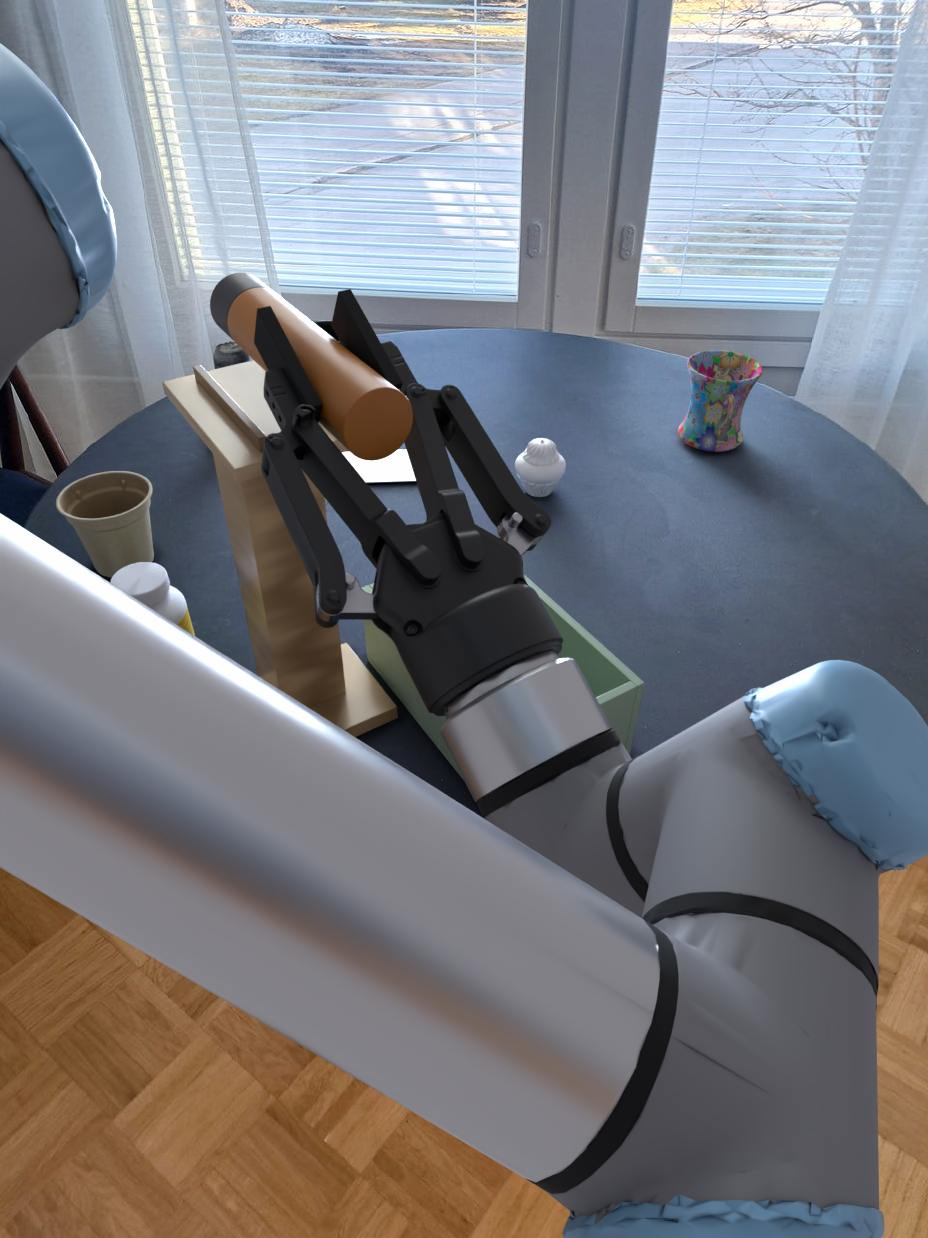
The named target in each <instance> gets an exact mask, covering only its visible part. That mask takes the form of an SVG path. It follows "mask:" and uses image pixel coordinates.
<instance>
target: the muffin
mask: <svg viewBox="0 0 928 1238" xmlns="http://www.w3.org/2000/svg"><path fill="white" fill-rule="evenodd" d="M566 468H567V465H566V460H565V458H564V457H563V456H562V455H561V453H560V452H559V451H558V449H557V445H556V443H555V442H553V441H552V440H551V439H549V438H546V437H540V438H539V437H537V438H533V439H532V440H531V441H528V444H527V445H526V448H525V450H524V451H523V452H521V453H520V454H519V455H518V456H517V458H516V459H515V462H514V469H515V472H516V476H517V478H518V479H519V481H520V484H521V485H522V488H523V489H524V491H525V492H526V494H528V495H529V496H532V497H535V498H543V497H547V496H549V495H551V494H552V492H553V491H554V490H555V488H556V487H557V486H558V485H559V483H560V482H561V481H562V478H563V475H564V474H565V472H566Z"/></svg>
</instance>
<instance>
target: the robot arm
mask: <svg viewBox="0 0 928 1238" xmlns="http://www.w3.org/2000/svg"><path fill="white" fill-rule="evenodd" d="M101 179H102V174H101V171H100V169H99V165H98V164H97V161H96V160H95V157H94V155H93V153H92V152H91V149H90V147H89V146H88V144H87V142H86V141H85V139H84V137H83V135H82V134H81V131H80V130H79V129H78V127H77V125H76V123H75V122H74V121H73V119H72V118H71V117H70V115H69V114H68V112H67V111H66V110H65V108H64V107H63V105H62V104H61V102H60V101H59V99H58V98H57V97H56V95H54V94H53V92H52V91H51V89H50V88H48V86H47V85H46V84H45V83H44V82H43V80H42V79H41V78H40V77H39V76H38V75H37V74H36V73H35V72H34V71H33V70H32V69H31V68H30V67H29V66H28V65H27V63H25V62H24V61H23V60H22V59H20V57H18V56H17V55H16V54H15V53H13V52H12V51H11V50H10V49H9V48H7V47H6V46H5V45H4V44H2V43H1V42H0V390H1V389H2V387H3V386H4V384H5V382H6V381H7V379H8V378H9V376H10V374H11V373H12V371H13V370H14V368H15V366H16V365H17V363H18V362H19V361H20V359H21V358H22V357H23V356H24V355H25V354H26V353H27V352H29V350H30V349H31V348H32V347H33V346H35V345H36V344H37V343H38V342H39V341H41V340H42V339H43V338H44V337H46V336H47V335H49V334H50V333H53V332H55V331H56V330H65V329H69V328H72V327H74V326H76V325H77V324H79V323H80V322H82V321H83V320H84V318H85V317H86V315H87V313H88V312H89V311H90V310H92V309H93V308H94V307H95V306H96V305H98V303H100V302H101V301H102V299H103V298H104V297H105V295H106V294H107V292H108V291H109V290H110V287H111V284H112V282H113V279H114V276H115V271H116V267H117V258H118V237H117V229H116V222H115V215H114V211H113V208H112V206H111V204H110V202H109V200H108V199H107V197H106V196H105V193H104V191H103V189H102V185H101ZM331 321H332V324H331V326H332V327H333V329H334V331H335V333H336V335H337V337H338V338H339V340H340V342H341V344H342V345H343V346H344V347H345V348H346V349H348V350H349V351H350V352H351V353H353V354H354V355H355V356H356V357H358V358H359V359H360V360H362V361H363V362H364V363H365V364H367V365H368V366H369V367H370V368H372V369H373V370H374V371H375V372H377V373H378V374H379V375H381V376H382V377H383V378H384V379H386V380H387V381H388V382H389V383H391V384H392V385H393V386H394V387H396V388H397V389H398V390H400V391H401V392H402V393H403V394H404V395H405V396H406V397H407V398H408V400H409V402H410V404H411V407H412V411H413V422H412V427H411V430H410V433H409V435H408V437H407V439H406V440H405V442H404V443H403V444H404V447H405V450H407V453H408V456H409V459H410V463H411V466H412V469H413V472H414V476H415V479H416V482H417V483H416V485H417V488H418V492H419V494H420V498H421V502H422V505H423V508H424V511H425V515H426V516H425V517H426V521H424V522H423V523H410V524H409V523H408V524H407V523H406V522H405V521H404V520H403V519H402V517H401V516H400V515H399V514H398V513H397V512H396V511H395V510H394V509H392V508H391V509H390V508H388V507H387V506H386V505H385V504H384V502H382V500H381V499H380V498H379V497H378V495H377V494H376V493H375V491H373V489H372V488H371V487H370V485H369V484H367V483H366V482H365V481H364V479H363V478H362V477H361V476H360V474H359V473H358V472H357V471H356V470H355V468H354V467H353V466H352V465H351V463H350V462H349V461H348V460H347V458H346V457H345V456H344V455H343V453H342V452H341V451H340V450H339V449H338V447H337V446H336V445H335V444H334V442H333V441H332V440H331V439H330V437H329V436H328V435H327V434H326V433H325V431H324V430H323V429H322V428H321V426H320V425H319V424H318V423H319V419H320V413H321V410H322V405H323V404H322V402H321V400H320V398H319V396H318V395H317V393H316V391H315V389H314V387H313V385H312V383H311V381H310V379H309V378H308V376H307V374H306V372H305V370H304V368H303V366H302V364H301V363H300V361H299V359H298V357H297V355H296V353H295V351H294V349H293V347H292V346H291V344H290V342H289V340H288V338H287V336H286V334H285V332H284V330H283V329H282V327H281V325H280V323H279V321H278V319H277V317H276V315H275V313H274V312H273V310H272V308H271V306H267V307H262V308H257V315H256V325H255V336H254V344H255V346H256V348H257V350H258V352H259V354H260V355H261V357H262V359H263V361H264V363H265V365H266V367H267V369H268V371H267V372H265V379H264V388H263V390H264V398H265V400H266V402H267V404H268V405H269V408H270V410H271V411H272V414H273V416H274V418H275V420H276V422H277V424H278V426H279V427H280V429H281V431H280V432H279V433H271V434H269V435H268V436H267V437H266V438H265V441H264V448H263V456H262V463H261V471H262V473H263V476H264V478H265V480H266V482H267V485H268V487H269V489H270V491H271V493H272V496H273V498H274V500H275V502H276V504H277V507H278V509H279V511H280V513H281V516H282V518H283V520H284V522H285V524H286V527H287V529H288V531H289V533H290V535H291V538H292V540H293V542H294V544H295V547H296V549H297V551H298V553H299V555H300V558H301V560H302V562H303V564H304V566H305V569H306V571H307V573H308V575H309V578H310V580H311V582H312V584H313V590H314V610H315V619H316V622H317V623H318V624H319V625H320V626H322V627H324V628H331V627H334V626H335V625H336V624H337V623H338V624H339V621H340V620H344V621H346V620H347V621H348V620H349V621H350V620H351V621H353V620H355V621H356V620H358V621H359V620H363V621H364V620H372V622H373V623H374V625H375V626H376V627H377V628H378V629H380V630H381V631H383V632H384V633H385V634H387V635H388V636H389V637H390V638H391V639H392V641H393V642H394V643H395V645H396V647H397V650H398V652H399V654H400V657H401V659H402V661H403V663H404V665H405V667H406V669H407V671H408V673H409V675H410V677H411V679H412V681H413V682H414V684H415V686H416V688H417V690H418V692H419V694H420V696H421V698H422V700H423V702H424V704H425V706H426V708H427V710H428V712H429V713H434V714H435V715H436V716H446V718H447V720H446V721H445V722H444V723H443V725H442V728H441V730H440V734H441V736H442V738H443V740H444V742H445V744H446V746H447V748H448V750H449V752H450V754H451V756H452V757H453V759H454V761H455V763H456V765H457V767H458V769H459V771H460V773H461V775H462V777H463V779H464V780H463V779H462V780H463V781H464V783H465V785H466V787H467V789H468V791H469V793H470V795H471V797H472V799H473V801H474V802H475V803H476V805H477V807H478V809H479V811H480V814H481V815H479V814H477V813H476V812H475V811H473V810H471V809H469V808H468V807H466V806H465V805H463V804H461V803H460V802H458V801H456V800H455V799H454V798H452V797H450V796H449V795H447V794H445V793H444V792H443V791H441V790H439V789H438V788H437V787H435V786H433V785H431V784H430V783H429V782H426V781H425V780H423V779H422V778H420V777H419V776H417V775H416V774H414V773H412V772H411V771H409V770H408V769H406V768H404V767H403V766H401V765H400V764H398V763H397V762H395V761H394V760H393V759H391V758H389V757H387V756H386V755H383V753H381V752H379V751H378V750H376V749H374V748H373V747H371V746H369V745H368V744H367V743H365V742H363V741H362V740H360V739H358V738H357V737H354V736H352V735H351V734H349V733H347V732H346V731H344V730H343V729H341V728H340V727H338V726H336V725H335V724H333V723H332V722H330V721H328V720H327V719H325V718H324V717H322V716H321V715H319V714H317V713H316V712H314V711H313V710H311V709H309V708H308V707H306V706H305V705H303V704H302V703H300V702H298V701H297V700H295V699H294V698H292V697H290V696H289V695H287V694H286V693H284V692H282V691H281V690H279V689H278V688H276V687H275V686H273V685H271V684H270V683H268V682H267V681H265V680H263V679H262V678H260V677H259V676H258V674H256V673H254V672H253V671H251V670H249V669H248V668H247V667H245V666H243V665H241V664H240V663H239V662H236V661H235V660H233V659H232V658H230V657H229V656H228V655H226V654H225V653H222V652H221V651H219V650H217V649H216V648H215V647H213V646H211V645H209V644H208V643H207V642H205V641H203V640H202V639H200V638H199V637H198V636H196V635H195V636H194V635H192V634H191V633H189V632H187V631H186V630H184V629H183V628H181V627H180V626H178V625H176V624H175V623H173V622H172V621H170V620H168V619H167V618H165V617H164V616H162V615H161V614H159V613H157V612H156V611H154V610H153V609H151V608H149V607H148V606H146V605H145V604H143V603H142V602H140V601H138V600H137V599H135V598H134V597H132V596H130V595H129V594H127V593H126V592H124V591H122V590H121V589H119V588H118V587H116V586H115V585H113V584H111V583H110V582H111V581H108V580H107V579H105V578H103V577H102V576H100V575H99V574H97V573H96V572H94V571H92V570H91V569H89V568H87V567H86V566H84V565H83V564H82V563H80V562H78V561H77V560H75V559H73V558H72V557H70V556H69V555H67V554H66V553H64V552H63V551H61V550H59V549H58V548H56V547H54V546H53V545H51V544H50V543H48V542H46V541H45V540H43V539H42V538H40V537H39V536H37V535H35V534H34V533H32V532H30V531H29V530H28V529H26V528H24V527H22V525H20V524H19V523H17V522H15V521H13V520H11V519H10V518H9V517H7V516H6V515H4V514H2V513H1V512H0V869H2V870H3V871H5V872H6V873H9V874H10V875H12V876H14V877H15V878H17V879H18V880H20V881H22V882H23V883H25V884H27V885H29V886H30V887H32V888H34V889H36V890H37V891H39V892H40V893H42V894H44V895H46V896H47V897H48V898H50V899H52V900H54V901H56V902H58V903H59V904H61V905H63V906H64V907H66V908H68V909H69V910H71V911H73V912H74V913H76V914H78V915H79V916H81V917H83V918H84V919H86V920H88V921H89V922H91V923H92V924H95V925H96V926H98V927H100V928H101V929H103V930H104V931H106V932H108V933H109V934H111V935H113V936H114V937H116V938H118V939H120V940H122V941H123V942H125V943H126V944H128V945H130V946H132V947H133V948H135V949H137V950H138V951H140V952H141V953H143V954H145V955H147V956H149V957H150V958H152V959H154V960H155V961H157V962H159V963H160V964H162V965H164V966H165V967H167V968H169V969H170V970H172V971H174V972H176V973H177V974H179V975H181V976H182V977H184V978H186V979H188V980H189V981H190V982H192V983H194V984H196V985H198V986H199V987H201V988H203V989H204V990H206V991H207V992H209V993H211V994H213V995H214V996H216V997H218V998H219V999H221V1000H222V1001H224V1002H226V1003H228V1004H230V1005H231V1006H233V1007H234V1008H237V1009H238V1010H240V1011H241V1012H243V1013H245V1014H247V1015H249V1016H250V1017H252V1018H253V1019H254V1020H256V1021H258V1022H260V1023H262V1024H263V1025H265V1026H267V1027H268V1028H270V1029H272V1030H273V1031H275V1032H277V1033H279V1034H280V1035H282V1036H284V1037H285V1038H287V1039H289V1040H290V1041H292V1042H294V1043H296V1044H297V1045H299V1046H301V1047H302V1048H303V1049H305V1050H307V1051H309V1052H311V1053H312V1054H314V1055H316V1056H318V1057H319V1058H320V1059H322V1060H324V1061H326V1062H328V1063H329V1064H331V1065H332V1066H334V1067H336V1068H337V1069H340V1070H341V1071H342V1072H345V1074H348V1075H349V1076H351V1077H352V1078H355V1079H356V1080H358V1081H360V1082H361V1083H363V1084H364V1085H366V1086H368V1087H369V1088H372V1089H373V1090H375V1091H377V1092H378V1093H380V1094H382V1095H383V1096H384V1097H387V1099H388V1098H389V1099H390V1100H392V1101H393V1102H394V1103H397V1104H399V1105H400V1106H402V1107H404V1108H405V1109H407V1110H408V1111H410V1112H412V1113H414V1114H415V1115H417V1116H419V1117H420V1118H422V1119H424V1120H425V1121H427V1122H429V1123H430V1124H432V1125H433V1126H435V1127H437V1128H439V1129H441V1130H442V1131H444V1132H445V1133H448V1134H449V1135H451V1136H452V1137H454V1138H456V1139H458V1140H459V1141H461V1142H463V1143H464V1144H465V1145H468V1146H469V1147H471V1148H473V1149H474V1150H476V1151H478V1152H479V1153H481V1154H482V1155H484V1156H486V1157H487V1158H490V1159H491V1160H493V1161H495V1162H496V1163H498V1164H499V1165H501V1166H503V1167H504V1168H507V1169H508V1170H509V1171H512V1172H513V1173H515V1174H517V1175H518V1176H520V1177H521V1178H523V1179H525V1180H526V1181H528V1182H530V1183H531V1184H533V1185H535V1186H536V1187H538V1188H539V1189H541V1190H543V1191H544V1192H545V1193H546V1194H548V1195H549V1196H550V1197H552V1198H553V1199H554V1200H555V1201H557V1202H558V1203H559V1204H560V1205H562V1207H564V1208H565V1209H567V1210H568V1212H569V1215H568V1216H567V1219H566V1221H565V1224H564V1227H563V1229H562V1232H561V1234H562V1237H563V1238H883V1237H884V1234H885V1219H884V1213H883V1211H881V1210H880V1170H879V1168H880V1167H879V1166H880V1165H879V1116H878V1115H879V1114H878V1113H879V1102H878V1100H879V1097H878V1039H877V1038H878V1037H877V1036H878V1035H877V1031H878V1030H877V1012H878V1011H877V1010H878V1005H877V1001H878V993H879V985H880V984H879V983H880V982H879V981H880V980H879V979H880V978H879V977H880V976H879V975H880V968H879V967H880V955H879V954H880V950H879V949H880V927H879V926H880V902H879V901H880V894H879V893H880V891H879V878H880V876H881V875H882V874H885V873H887V872H889V871H894V872H896V871H899V872H900V871H901V870H903V871H905V870H906V869H908V867H909V866H910V865H912V864H914V863H916V862H918V861H920V860H922V859H924V858H926V857H928V724H927V723H926V721H925V720H924V719H923V717H922V716H921V714H920V713H919V711H918V710H917V709H916V708H915V706H914V705H913V704H912V703H911V701H910V700H909V699H908V698H907V697H906V696H904V695H903V694H902V693H901V692H900V691H899V690H898V689H897V688H896V687H895V686H893V685H892V684H891V683H890V682H889V681H888V680H887V679H886V678H885V677H884V676H882V675H881V674H880V673H878V672H876V671H875V670H872V669H871V668H869V667H866V666H864V665H862V664H860V663H857V662H854V661H850V660H844V659H843V660H842V659H829V660H824V661H820V662H817V663H815V664H813V665H811V666H808V667H806V668H804V669H802V670H800V671H798V672H795V673H793V674H791V675H789V676H786V677H785V678H782V679H780V680H777V681H776V682H773V683H771V684H769V685H766V686H765V687H752V688H751V689H750V690H748V691H746V692H744V695H743V696H742V697H740V698H738V699H736V700H734V701H733V702H731V703H729V704H728V705H726V706H724V707H723V708H721V709H719V710H717V711H716V712H714V713H712V714H710V715H709V716H707V717H705V718H703V719H701V720H700V721H698V722H697V723H694V724H693V725H691V726H689V727H688V728H686V729H685V730H683V731H680V732H679V733H678V734H676V735H674V736H672V737H670V738H669V739H667V740H665V741H663V742H662V743H660V744H658V745H657V746H654V747H653V748H652V749H650V750H647V751H646V752H642V753H640V754H638V755H635V757H633V758H632V757H631V754H630V755H629V754H628V752H627V750H626V749H625V747H624V746H623V744H622V743H620V739H619V737H618V735H617V734H616V732H615V730H612V731H610V730H611V729H612V726H611V724H610V722H609V720H608V719H607V717H606V715H605V713H604V711H603V710H602V708H601V706H600V704H599V702H598V701H597V699H596V697H595V695H594V693H593V691H592V690H591V688H590V686H589V684H588V682H587V681H586V679H585V677H584V675H583V673H582V672H581V670H580V668H579V666H578V664H577V662H576V661H575V660H574V659H571V658H559V657H558V654H559V653H560V651H561V649H562V645H561V644H562V643H563V638H562V637H561V635H560V633H559V631H558V630H557V628H556V626H555V624H554V622H553V621H552V619H551V617H550V615H549V614H548V612H547V610H546V608H545V607H544V605H543V603H542V601H541V599H540V598H539V596H538V594H537V592H536V591H535V590H534V589H533V588H532V587H531V586H529V585H528V584H527V582H526V581H525V578H524V575H525V574H524V573H525V572H524V560H523V556H524V554H525V553H526V552H532V550H534V549H535V548H536V546H538V544H539V542H540V541H541V540H542V539H543V538H544V536H545V535H546V533H547V532H548V531H549V530H550V528H551V526H552V518H551V517H550V515H549V514H548V513H547V512H546V511H545V510H543V508H542V507H541V506H539V505H538V504H537V503H536V502H535V501H534V500H533V499H531V498H530V497H529V496H528V495H527V494H525V493H524V491H523V489H522V488H521V486H520V485H519V483H518V482H517V480H516V478H515V477H514V475H513V473H512V472H511V470H510V469H509V466H508V465H507V464H506V463H505V460H504V459H503V457H502V456H501V454H500V452H499V451H498V449H497V447H496V446H495V444H494V443H493V441H492V439H491V438H490V437H489V434H488V433H487V432H486V430H485V428H484V427H483V426H482V425H483V424H482V423H481V422H480V420H479V418H478V417H477V415H476V414H475V412H474V410H473V409H472V407H471V406H470V405H469V403H468V401H467V399H466V398H465V396H464V395H463V393H462V391H461V390H460V389H459V388H458V387H457V386H455V385H453V384H445V385H443V386H442V387H441V388H440V389H431V388H426V386H424V385H423V384H421V383H419V382H418V381H417V379H416V377H415V376H414V373H413V372H412V370H411V368H410V367H409V365H408V363H407V362H406V359H405V358H404V356H403V354H402V353H401V351H400V349H399V347H398V346H397V345H396V344H395V343H394V342H392V341H391V340H389V341H388V340H387V341H385V342H384V341H383V342H381V341H380V339H379V337H378V335H377V333H376V332H375V330H374V329H373V327H372V325H371V323H370V321H369V319H368V317H367V315H365V312H364V310H363V309H362V307H361V305H360V302H358V299H357V298H356V296H355V294H354V293H353V291H352V289H351V288H348V289H343V290H339V291H337V295H336V300H335V305H334V310H333V314H332V319H331ZM448 453H449V454H448ZM449 455H450V456H451V458H452V460H453V462H454V463H455V464H456V466H457V468H458V469H459V471H460V473H461V474H462V476H463V478H464V479H465V481H466V483H467V485H468V486H469V488H470V489H471V492H473V494H474V496H475V498H476V499H477V502H479V504H480V506H481V507H482V509H483V511H484V513H485V514H486V515H487V517H488V519H489V520H490V522H491V523H492V524H493V526H495V528H496V530H497V531H496V532H497V535H498V536H496V535H495V534H493V533H492V532H489V531H488V530H486V529H485V528H483V527H482V526H479V525H477V524H476V522H475V520H474V517H473V513H472V511H471V508H470V505H469V502H468V499H467V496H466V493H465V491H464V490H462V489H461V488H460V487H459V485H458V481H457V478H456V475H455V471H454V469H453V466H452V463H451V460H450V456H449ZM302 470H303V471H304V473H305V474H306V475H307V476H308V478H309V479H310V480H311V481H312V483H313V484H314V485H315V486H316V488H317V489H318V490H319V491H320V493H321V494H322V495H323V496H324V499H325V501H327V503H328V504H329V506H331V508H332V509H333V510H334V511H335V512H336V514H337V515H338V517H339V518H340V519H341V521H342V522H343V523H344V524H345V525H346V526H347V528H348V529H349V530H350V532H352V534H353V535H354V536H355V538H356V539H357V540H358V542H359V544H360V546H361V550H362V552H363V554H364V556H365V557H366V558H367V560H369V562H370V563H371V564H372V565H373V567H374V568H375V569H376V570H375V574H374V580H373V583H374V585H373V591H372V594H369V593H367V592H365V591H364V590H363V589H362V587H361V584H360V581H359V579H358V578H357V577H356V576H355V574H353V573H352V572H346V569H345V564H344V560H343V559H344V558H343V556H342V554H341V551H340V549H339V546H338V544H337V542H336V540H335V538H334V536H333V533H332V532H331V529H330V527H329V525H328V522H327V523H326V521H325V519H324V516H323V514H322V512H321V510H320V508H319V506H318V503H317V501H316V499H315V497H314V495H313V493H312V491H311V488H310V486H309V484H308V482H307V480H306V478H305V476H304V473H303V471H302ZM462 777H461V778H462ZM480 800H481V801H480ZM482 816H483V817H482Z"/></svg>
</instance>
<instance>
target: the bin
mask: <svg viewBox="0 0 928 1238" xmlns="http://www.w3.org/2000/svg"><path fill="white" fill-rule="evenodd" d="M524 578H525V581H526V582H527V584H528V585H529V586H531V587H532V588H533V589H534V590H535V591H536V592H537V594H538V596H539V598H540V599H541V601H542V603H543V605H544V607H545V608H546V610H547V612H548V614H549V615H550V617H551V619H552V621H553V622H554V624H555V626H556V628H557V630H558V631H559V633H560V635H561V637H562V638H563V643H562V644H561V645H562V649H561V651H560V653H559V654H558V657H559V658H571V659H574V660H575V661H576V662H577V664H578V666H579V668H580V670H581V672H582V673H583V675H584V677H585V679H586V681H587V682H588V684H589V686H590V688H591V690H592V691H593V693H594V695H595V697H596V699H597V701H598V702H599V704H600V706H601V708H602V710H603V711H604V713H605V715H606V717H607V719H608V720H609V722H610V724H611V726H612V729H611V730H610V731H612V730H615V732H616V734H617V735H618V737H619V739H620V743H622V744H623V746H624V747H625V749H626V750H627V752H628V754H629V755H630V756H631V752H632V746H633V741H634V736H635V731H636V727H637V722H638V717H639V711H640V707H641V702H642V698H643V692H644V688H645V682H644V681H643V679H641V678H640V677H639V676H638V675H637V674H636V673H635V672H633V671H632V670H631V669H630V667H628V666H627V665H626V664H624V662H623V661H621V660H620V659H619V658H618V657H616V655H614V654H613V653H612V652H611V651H610V650H609V649H608V648H607V647H606V646H604V644H603V643H601V642H600V641H599V640H598V639H597V638H596V637H594V635H592V634H591V633H590V632H589V631H588V630H587V629H586V628H585V627H583V626H582V625H581V624H580V623H579V622H578V621H576V620H575V619H574V618H573V617H572V616H571V615H570V614H569V613H567V611H566V610H564V609H563V608H562V607H561V606H560V605H559V604H558V603H557V602H556V601H554V600H553V599H552V597H550V596H549V595H548V594H547V593H545V592H544V590H542V589H541V588H540V587H539V586H538V585H537V584H535V583H534V582H533V581H532V580H531V579H530V578H529V577H527V575H526V574H524ZM373 585H374V582H373V583H370V584H368V585H364V586H362V587H361V588H362V589H363V590H364V591H365V592H367V593H369V594H372V591H373ZM363 625H364V637H365V649H366V660H367V661H368V662H369V664H371V666H372V667H373V668H374V669H375V671H376V672H377V674H378V675H379V676H380V677H381V679H382V680H383V681H384V682H385V684H386V685H387V686H388V687H389V688H390V690H391V691H392V693H393V694H394V695H395V696H396V697H397V699H398V700H399V701H400V702H401V704H402V705H403V706H404V707H405V709H406V710H407V711H408V712H409V714H410V715H411V716H412V718H414V720H415V721H416V722H417V724H418V725H419V726H420V727H421V729H422V730H423V732H424V733H425V734H426V735H427V736H428V737H429V739H430V740H431V741H432V742H433V744H434V745H435V746H436V748H437V749H438V750H439V751H440V752H441V755H443V756H444V757H445V759H446V760H447V761H448V763H449V764H450V765H451V766H452V767H453V769H454V770H455V772H456V773H457V774H458V775H459V776H460V778H461V779H462V780H463V781H464V779H463V777H462V775H461V773H460V771H459V769H458V767H457V765H456V763H455V761H454V759H453V757H452V756H451V754H450V752H449V750H448V748H447V746H446V744H445V742H444V740H443V738H442V736H441V734H440V730H441V728H442V725H443V723H444V722H445V721H446V720H447V718H446V716H436V715H435V714H434V713H429V712H428V710H427V708H426V706H425V704H424V702H423V700H422V698H421V696H420V694H419V692H418V690H417V688H416V686H415V684H414V682H413V681H412V679H411V677H410V675H409V673H408V671H407V669H406V667H405V665H404V663H403V661H402V659H401V657H400V654H399V652H398V650H397V647H396V645H395V643H394V642H393V641H392V639H391V638H390V637H389V636H388V635H387V634H385V633H384V632H383V631H381V630H380V629H378V628H377V627H376V626H375V625H374V623H373V622H372V620H363ZM480 801H481V800H480Z"/></svg>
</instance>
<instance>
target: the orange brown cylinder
mask: <svg viewBox="0 0 928 1238" xmlns="http://www.w3.org/2000/svg"><path fill="white" fill-rule="evenodd" d="M267 306H271V308H272V310H273V312H274V313H275V315H276V317H277V319H278V321H279V323H280V325H281V327H282V329H283V330H284V332H285V334H286V336H287V338H288V340H289V342H290V344H291V346H292V347H293V349H294V351H295V353H296V355H297V357H298V359H299V361H300V363H301V364H302V366H303V368H304V370H305V372H306V374H307V376H308V378H309V379H310V381H311V383H312V385H313V387H314V389H315V391H316V393H317V395H318V396H319V398H320V400H321V402H322V404H323V405H322V410H321V413H320V419H319V423H320V424H322V425H323V426H324V427H325V428H326V429H327V430H328V431H329V432H330V433H331V434H332V435H333V436H334V437H335V438H336V439H337V440H338V441H339V442H340V443H342V444H343V445H344V446H345V447H346V448H347V449H348V450H349V451H348V452H351V453H352V454H353V455H354V456H356V457H358V458H360V459H363V460H368V461H375V460H380V459H383V458H386V457H388V456H390V455H391V454H393V453H394V452H395V451H397V450H400V448H401V447H402V446H403V445H404V444H405V443H404V442H405V440H406V439H407V437H408V435H409V433H410V430H411V427H412V422H413V411H412V407H411V404H410V402H409V400H408V398H407V397H406V396H405V395H404V394H403V393H402V392H401V391H400V390H398V389H397V388H396V387H394V386H393V385H392V384H391V383H389V382H388V381H387V380H386V379H384V378H383V377H382V376H381V375H379V374H378V373H377V372H375V371H374V370H373V369H372V368H370V367H369V366H368V365H367V364H365V363H364V362H363V361H362V360H360V359H359V358H358V357H356V356H355V355H354V354H353V353H351V352H350V351H349V350H348V349H346V348H345V347H344V346H343V345H341V344H340V343H339V342H338V341H336V340H335V339H334V338H332V337H331V336H330V335H329V334H327V333H326V332H325V331H324V330H322V329H321V328H320V327H319V326H317V325H316V324H315V323H313V322H314V321H313V320H311V319H310V318H309V317H307V316H306V315H305V314H303V313H302V312H301V311H299V310H298V309H297V308H296V307H295V306H293V305H292V304H291V303H290V302H288V300H285V299H284V298H283V297H282V296H281V295H280V294H278V293H277V292H275V291H274V290H273V289H272V288H270V286H268V285H267V284H265V283H264V282H263V281H262V280H260V278H258V277H256V276H255V275H253V274H251V273H247V272H234V273H230V274H228V275H226V276H224V277H223V278H222V279H220V280H219V281H218V282H217V284H215V286H214V288H213V290H212V292H211V295H210V298H209V310H210V315H211V317H212V319H213V321H214V323H215V324H216V326H217V327H218V328H219V329H220V330H221V331H223V332H224V333H225V335H226V336H228V337H229V338H230V339H231V340H232V342H235V343H236V344H237V345H238V346H239V347H241V348H242V349H243V350H244V351H245V352H246V353H247V354H248V355H249V358H251V359H252V361H253V360H254V361H255V362H256V363H257V364H258V365H259V366H261V367H262V368H263V369H264V370H265V371H266V372H267V371H268V369H267V367H266V365H265V363H264V361H263V359H262V357H261V355H260V354H259V352H258V350H257V348H256V346H255V344H254V336H255V325H256V315H257V308H262V307H267Z"/></svg>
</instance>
